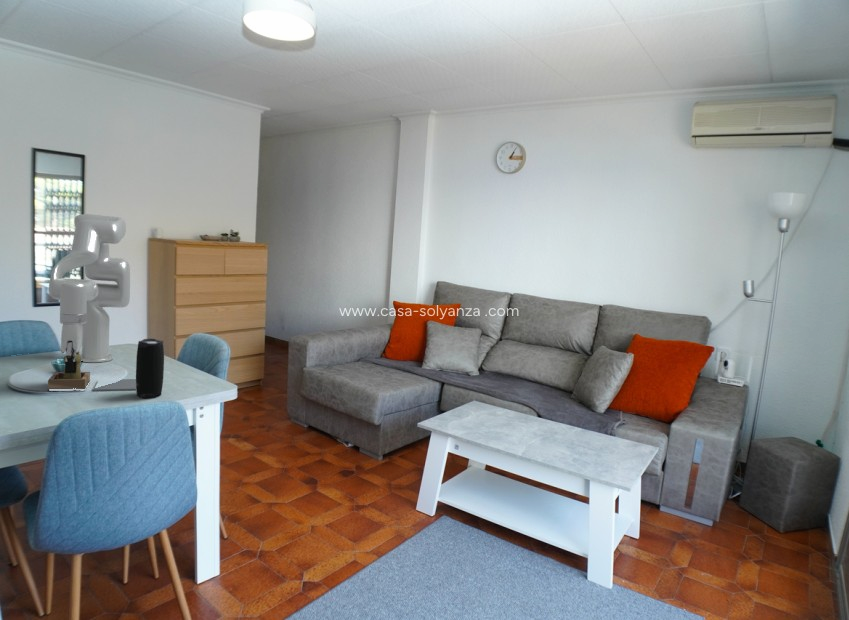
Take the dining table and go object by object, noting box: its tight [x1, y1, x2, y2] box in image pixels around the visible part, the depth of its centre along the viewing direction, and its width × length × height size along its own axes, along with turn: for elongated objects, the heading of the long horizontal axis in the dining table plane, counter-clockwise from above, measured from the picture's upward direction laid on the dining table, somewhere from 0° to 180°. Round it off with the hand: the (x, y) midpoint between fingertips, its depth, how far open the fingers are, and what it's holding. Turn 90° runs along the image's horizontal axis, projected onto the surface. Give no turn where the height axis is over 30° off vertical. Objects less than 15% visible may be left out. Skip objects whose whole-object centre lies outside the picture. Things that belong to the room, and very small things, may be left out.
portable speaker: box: [135, 338, 165, 399], centre depth 183 cm, size 8×9×19 cm
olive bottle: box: [63, 354, 82, 379], centre depth 185 cm, size 6×6×11 cm
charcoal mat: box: [92, 378, 136, 392], centre depth 192 cm, size 13×13×1 cm
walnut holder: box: [47, 371, 91, 390], centre depth 185 cm, size 10×10×4 cm
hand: (72, 370), depth 185 cm, fingers closed on olive bottle, 5 cm apart
